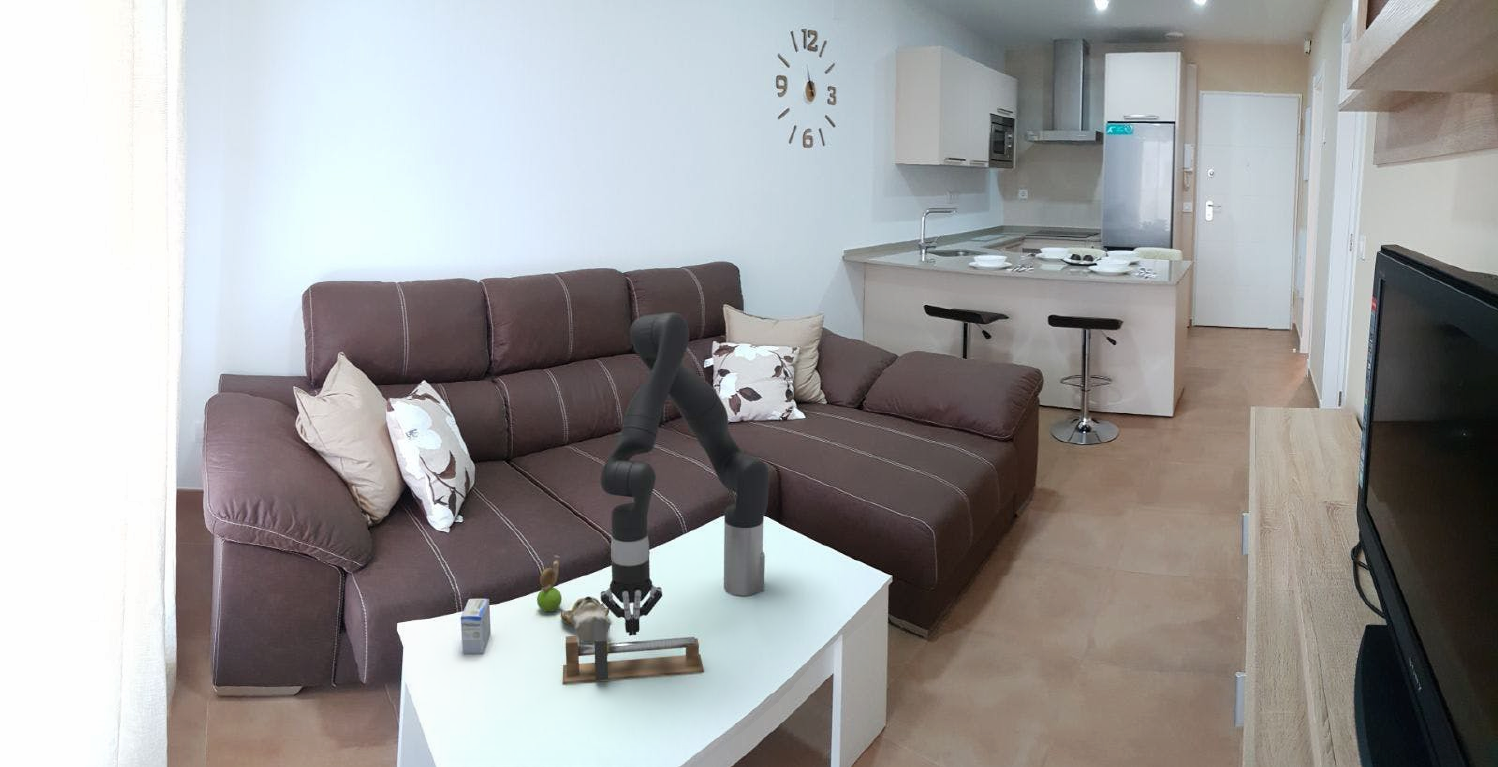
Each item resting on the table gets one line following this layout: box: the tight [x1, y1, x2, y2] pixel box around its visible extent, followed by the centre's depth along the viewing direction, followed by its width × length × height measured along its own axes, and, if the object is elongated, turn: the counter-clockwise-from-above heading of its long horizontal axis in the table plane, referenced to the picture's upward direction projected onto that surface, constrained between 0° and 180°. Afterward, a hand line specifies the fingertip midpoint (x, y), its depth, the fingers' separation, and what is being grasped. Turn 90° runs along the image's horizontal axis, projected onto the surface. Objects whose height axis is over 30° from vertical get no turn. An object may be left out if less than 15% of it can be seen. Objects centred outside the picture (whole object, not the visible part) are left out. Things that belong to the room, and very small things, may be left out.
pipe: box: [578, 636, 696, 657], centre depth 188 cm, size 25×3×3 cm, turn 100°
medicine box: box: [460, 598, 491, 655], centre depth 197 cm, size 8×4×9 cm, turn 5°
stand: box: [562, 635, 705, 685], centre depth 189 cm, size 28×6×8 cm, turn 100°
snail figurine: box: [536, 555, 562, 612], centre depth 212 cm, size 5×6×12 cm
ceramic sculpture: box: [560, 596, 611, 644], centre depth 203 cm, size 11×9×15 cm
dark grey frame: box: [593, 618, 608, 680], centre depth 187 cm, size 2×8×8 cm, turn 10°
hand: (632, 633), depth 192 cm, fingers closed
